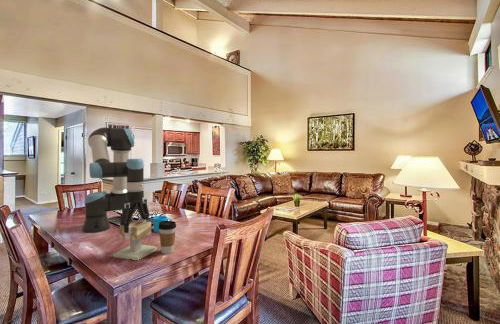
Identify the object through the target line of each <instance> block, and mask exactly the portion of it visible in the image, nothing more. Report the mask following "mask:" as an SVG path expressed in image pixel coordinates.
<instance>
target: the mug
mask: <svg viewBox="0 0 500 324" xmlns="http://www.w3.org/2000/svg"><path fill="white" fill-rule="evenodd" d="M168 220H169V221H173V220H172V219H171V218H170V217H168V216H166V215H157V216H153V226H152V227H153V232H154V233H159V232H160V230H159V227H158V226H159V222H161V221H168Z"/></svg>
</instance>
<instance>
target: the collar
mask: <svg viewBox="0 0 500 324" xmlns="http://www.w3.org/2000/svg"><path fill="white" fill-rule="evenodd" d="M129 225H131V239H130V240H139V239H141V238H142V239H143V238H145V237H147V236H150V235H151V234H152V221H147V220H146V221H141V220H135V219H134V220H131V221H130V224H129ZM119 239H123V240H126V239H125V233H124V226H122V225H120V224H119ZM130 240H129V241H130Z"/></svg>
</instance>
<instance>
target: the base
mask: <svg viewBox="0 0 500 324" xmlns="http://www.w3.org/2000/svg"><path fill="white" fill-rule="evenodd" d="M142 240H143V238H141V239H139V240H129V246H126V247H124V248H122V249H120V250H118V251H116V252H113V257H114V258H118V259H125V260H130V259H132V261H136V260H138V261H140V260H141V258H142V259H143V257H144V258H145V257H146V256H149V255H150V254H152V253H154V252H156V251H158V246H154V245H147V244H142V243H143V241H142ZM139 259H140V260H139Z"/></svg>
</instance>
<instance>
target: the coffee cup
mask: <svg viewBox="0 0 500 324" xmlns="http://www.w3.org/2000/svg"><path fill="white" fill-rule="evenodd" d="M158 227H159V230H160V232H158V233H159V241H160V242H159V243H160V253H161V254H164V255H168V254H169V255H170V254H172V253H174V251H175V250H174V249H175V239H176V228H177V225H176V221H174V220H172V221H170V220H167V221H161V222H159V226H158Z"/></svg>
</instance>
